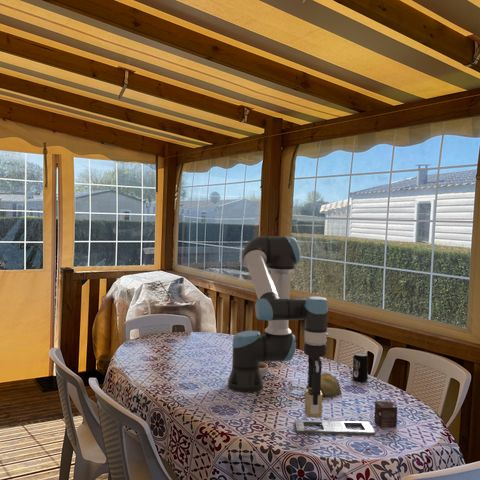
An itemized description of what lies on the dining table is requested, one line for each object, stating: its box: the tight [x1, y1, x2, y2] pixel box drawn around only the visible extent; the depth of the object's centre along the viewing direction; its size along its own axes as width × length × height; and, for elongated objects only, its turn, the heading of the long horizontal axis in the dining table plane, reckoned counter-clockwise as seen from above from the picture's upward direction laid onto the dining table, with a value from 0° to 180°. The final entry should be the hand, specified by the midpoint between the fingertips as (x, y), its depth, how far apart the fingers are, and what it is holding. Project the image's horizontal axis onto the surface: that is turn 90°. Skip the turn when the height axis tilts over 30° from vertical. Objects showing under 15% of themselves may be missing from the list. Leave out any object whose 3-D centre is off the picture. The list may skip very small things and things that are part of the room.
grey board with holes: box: [294, 419, 376, 436], centre depth 171 cm, size 26×9×1 cm, turn 90°
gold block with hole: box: [304, 388, 323, 419], centre depth 172 cm, size 5×5×8 cm
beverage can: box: [352, 351, 369, 383], centre depth 227 cm, size 7×7×12 cm
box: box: [373, 400, 398, 429], centre depth 176 cm, size 6×6×7 cm
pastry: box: [305, 372, 342, 398], centre depth 209 cm, size 14×12×8 cm
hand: (313, 409), depth 172 cm, fingers closed on gold block with hole, 5 cm apart
